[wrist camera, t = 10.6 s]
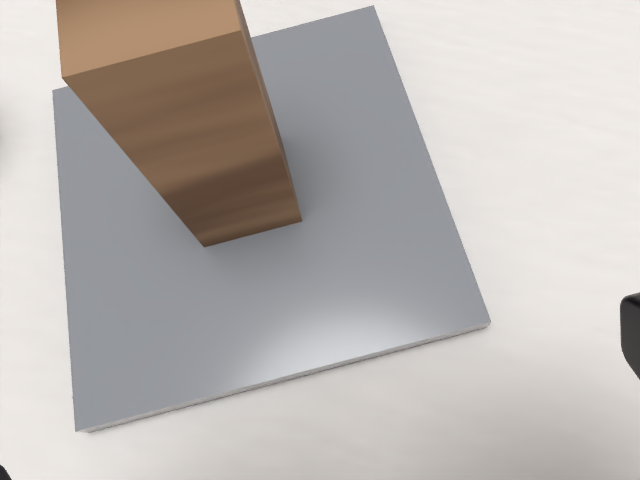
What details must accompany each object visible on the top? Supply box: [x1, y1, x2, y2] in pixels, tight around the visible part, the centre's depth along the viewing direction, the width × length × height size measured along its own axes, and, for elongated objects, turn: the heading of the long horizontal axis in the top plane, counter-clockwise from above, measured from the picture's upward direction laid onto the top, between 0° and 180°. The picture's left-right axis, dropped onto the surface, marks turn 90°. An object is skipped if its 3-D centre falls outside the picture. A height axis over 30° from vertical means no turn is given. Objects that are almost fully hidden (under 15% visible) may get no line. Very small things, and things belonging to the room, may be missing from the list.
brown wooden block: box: [56, 0, 302, 247], centre depth 18 cm, size 4×4×11 cm
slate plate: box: [53, 5, 491, 433], centre depth 24 cm, size 16×16×1 cm
